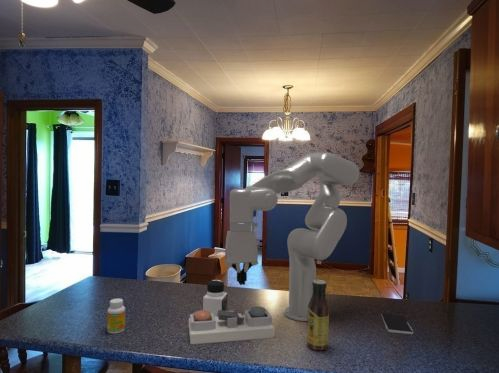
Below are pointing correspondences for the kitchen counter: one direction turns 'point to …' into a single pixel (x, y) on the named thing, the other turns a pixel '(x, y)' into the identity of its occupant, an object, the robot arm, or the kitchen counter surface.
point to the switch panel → (230, 329)
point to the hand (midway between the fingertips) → (241, 283)
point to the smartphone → (396, 323)
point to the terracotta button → (202, 315)
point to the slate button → (257, 312)
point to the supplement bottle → (116, 316)
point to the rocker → (230, 316)
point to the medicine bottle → (215, 297)
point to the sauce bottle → (318, 317)
